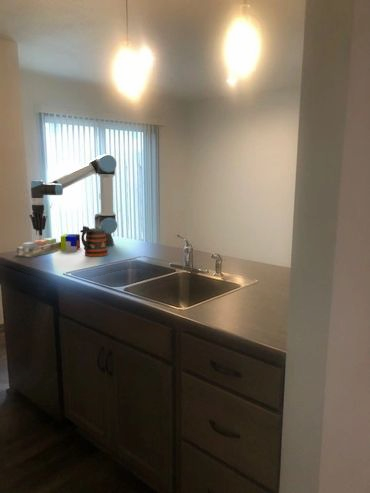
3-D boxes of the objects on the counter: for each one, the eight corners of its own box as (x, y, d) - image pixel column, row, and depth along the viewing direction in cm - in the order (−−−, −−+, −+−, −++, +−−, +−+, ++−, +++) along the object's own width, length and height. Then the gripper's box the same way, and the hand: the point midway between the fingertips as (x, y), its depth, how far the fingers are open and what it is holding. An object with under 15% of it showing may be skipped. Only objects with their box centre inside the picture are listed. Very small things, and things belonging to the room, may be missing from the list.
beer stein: (92, 259, 235) (92, 227, 231) (75, 256, 242) (73, 225, 238) (112, 254, 251) (111, 224, 248) (95, 251, 258) (94, 222, 254)
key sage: (56, 244, 262) (56, 238, 261) (50, 245, 257) (49, 239, 256) (49, 243, 264) (49, 237, 264) (43, 244, 259) (42, 239, 258)
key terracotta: (46, 246, 254) (46, 240, 253) (40, 248, 248) (40, 242, 248) (39, 245, 256) (39, 239, 255) (33, 247, 251) (32, 241, 250)
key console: (61, 249, 263) (61, 242, 263) (31, 257, 238) (31, 249, 237) (48, 247, 268) (47, 240, 267) (17, 255, 243) (16, 247, 242)
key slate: (37, 248, 246) (36, 242, 245) (30, 250, 240) (29, 244, 240) (29, 248, 248) (29, 241, 247) (22, 249, 243) (22, 243, 242)
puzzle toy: (75, 251, 258) (75, 236, 256) (61, 250, 258) (60, 236, 256) (80, 248, 268) (79, 234, 266) (66, 248, 268) (65, 234, 266)
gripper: (25, 204, 246) (27, 240, 250) (41, 205, 241) (43, 241, 246) (34, 203, 253) (36, 238, 257) (49, 204, 248) (51, 240, 252)
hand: (39, 240), depth 251 cm, fingers closed
